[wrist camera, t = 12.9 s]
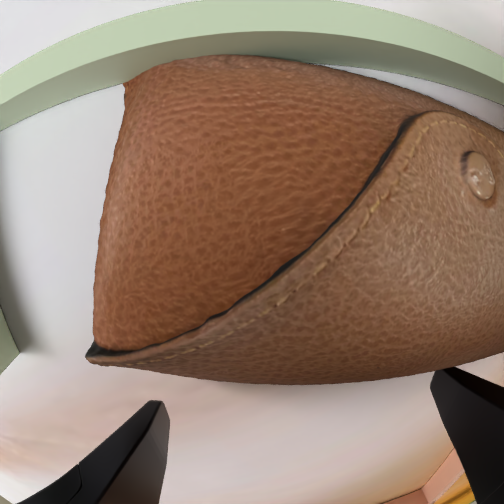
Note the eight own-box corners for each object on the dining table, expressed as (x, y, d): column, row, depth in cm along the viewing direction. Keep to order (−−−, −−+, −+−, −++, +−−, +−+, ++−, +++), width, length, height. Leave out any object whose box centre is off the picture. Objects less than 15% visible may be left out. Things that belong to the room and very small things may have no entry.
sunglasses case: (547, 148, 7) (628, 253, 2) (491, 249, 12) (536, 352, 7) (111, 58, 6) (-77, 202, 1) (144, 233, 11) (100, 395, 7)
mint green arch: (531, 302, 9) (554, 318, 7) (7, 351, 9) (-15, 374, 7) (543, 107, 6) (571, 107, 4) (-38, 132, 6) (-70, 133, 4)
